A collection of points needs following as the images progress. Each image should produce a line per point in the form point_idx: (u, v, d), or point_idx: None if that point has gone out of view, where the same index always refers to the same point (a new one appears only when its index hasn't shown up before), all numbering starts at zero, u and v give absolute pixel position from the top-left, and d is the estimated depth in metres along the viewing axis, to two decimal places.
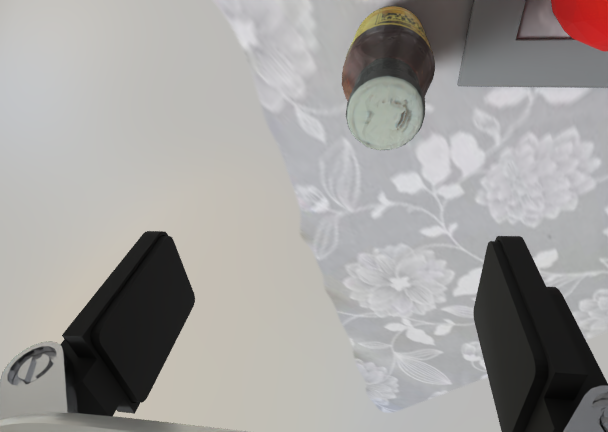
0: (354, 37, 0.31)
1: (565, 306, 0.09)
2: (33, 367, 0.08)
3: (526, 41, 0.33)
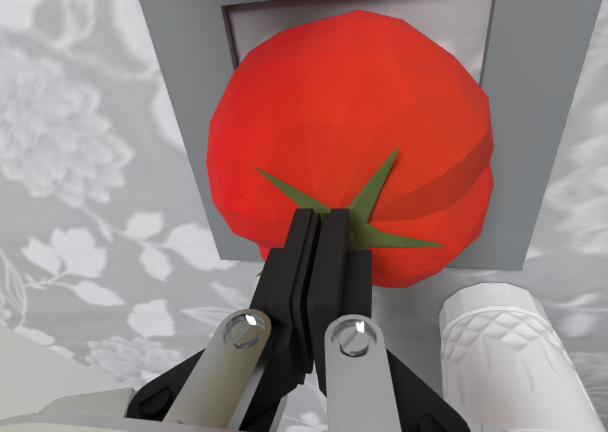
0: None
1: (371, 264, 0.10)
2: (241, 333, 0.08)
3: (223, 27, 0.18)
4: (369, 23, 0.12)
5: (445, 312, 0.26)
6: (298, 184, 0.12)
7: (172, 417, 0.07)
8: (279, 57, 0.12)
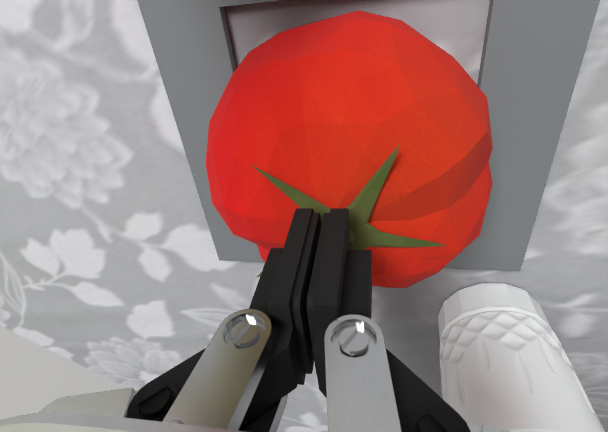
0: None
1: (371, 263, 0.10)
2: (241, 333, 0.08)
3: (222, 28, 0.18)
4: (368, 24, 0.12)
5: (444, 312, 0.26)
6: (298, 184, 0.12)
7: (172, 417, 0.07)
8: (279, 58, 0.12)
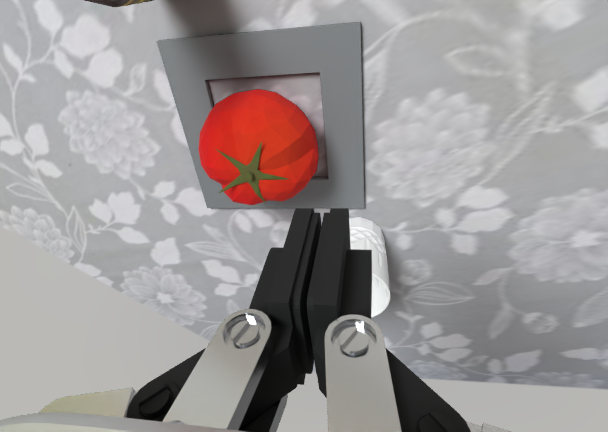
0: None
1: (371, 264, 0.10)
2: (241, 333, 0.08)
3: (206, 89, 0.40)
4: (257, 97, 0.34)
5: None
6: (232, 155, 0.34)
7: (172, 417, 0.07)
8: (225, 109, 0.34)
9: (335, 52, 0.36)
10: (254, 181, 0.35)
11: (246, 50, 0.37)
